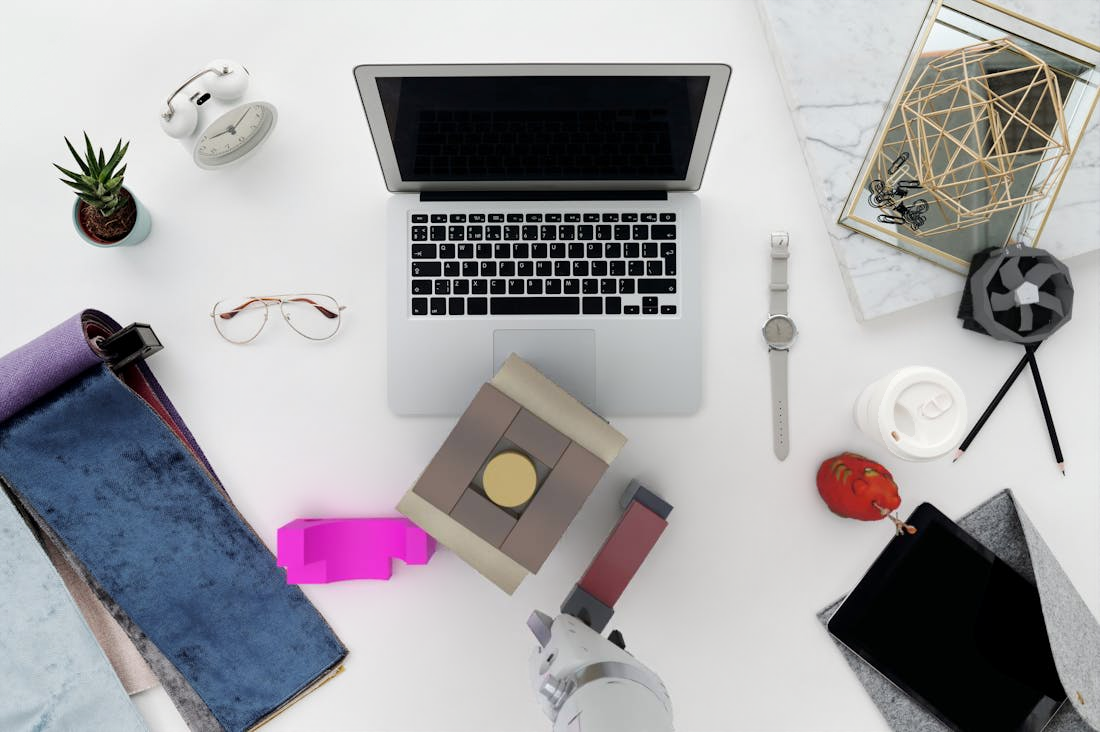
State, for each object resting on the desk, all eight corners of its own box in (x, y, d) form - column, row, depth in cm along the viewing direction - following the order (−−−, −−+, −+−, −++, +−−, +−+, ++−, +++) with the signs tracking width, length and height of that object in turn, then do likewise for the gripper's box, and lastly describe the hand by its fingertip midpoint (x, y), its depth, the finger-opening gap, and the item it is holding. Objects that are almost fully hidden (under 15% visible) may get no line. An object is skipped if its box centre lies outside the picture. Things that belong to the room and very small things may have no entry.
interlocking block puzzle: (525, 541, 85) (518, 613, 58) (432, 478, 85) (382, 521, 58) (607, 420, 86) (637, 435, 59) (514, 358, 86) (502, 344, 59)
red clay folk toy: (885, 464, 86) (958, 480, 71) (866, 524, 86) (936, 553, 71) (820, 443, 86) (879, 455, 71) (801, 503, 86) (857, 528, 71)
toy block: (300, 573, 85) (277, 591, 77) (300, 516, 85) (277, 529, 77) (436, 572, 85) (426, 589, 77) (436, 515, 85) (426, 527, 78)
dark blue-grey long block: (599, 607, 85) (604, 628, 77) (554, 576, 85) (555, 595, 77) (674, 494, 85) (687, 504, 78) (629, 464, 85) (638, 471, 78)
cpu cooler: (1064, 353, 81) (971, 327, 81) (1029, 355, 86) (942, 331, 86) (1088, 258, 81) (995, 232, 81) (1052, 267, 87) (965, 242, 87)
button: (518, 511, 60) (516, 517, 57) (475, 482, 60) (472, 487, 57) (546, 468, 60) (547, 472, 57) (504, 440, 60) (502, 442, 57)
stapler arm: (595, 630, 77) (597, 638, 74) (559, 605, 77) (560, 612, 74) (668, 521, 77) (672, 526, 75) (631, 497, 77) (635, 500, 75)
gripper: (473, 702, 50) (492, 617, 68) (682, 844, 49) (644, 721, 68) (538, 605, 50) (539, 546, 68) (747, 746, 50) (691, 649, 68)
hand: (592, 634), depth 68 cm, fingers closed
